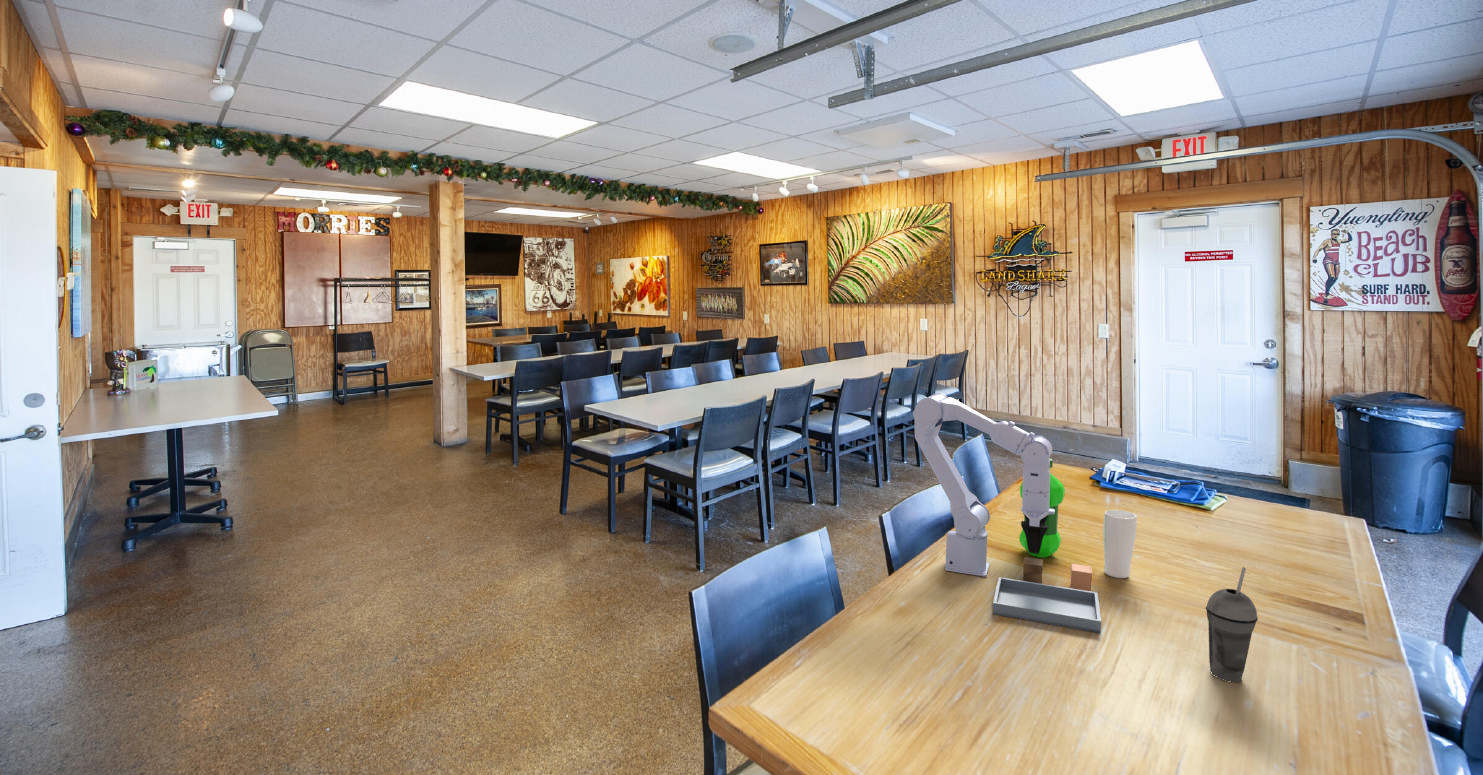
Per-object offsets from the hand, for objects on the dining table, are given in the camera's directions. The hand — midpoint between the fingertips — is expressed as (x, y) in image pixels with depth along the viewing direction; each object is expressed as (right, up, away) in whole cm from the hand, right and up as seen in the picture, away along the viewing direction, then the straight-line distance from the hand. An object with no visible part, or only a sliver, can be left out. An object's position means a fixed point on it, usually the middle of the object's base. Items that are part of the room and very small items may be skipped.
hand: (1034, 546), depth 154 cm
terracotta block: (+9, -9, -3) cm, 13 cm away
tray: (-3, -10, -12) cm, 16 cm away
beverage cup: (+17, -14, -38) cm, 43 cm away
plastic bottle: (+9, -6, +18) cm, 21 cm away
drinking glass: (+21, -8, +4) cm, 23 cm away
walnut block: (0, -8, +1) cm, 9 cm away
